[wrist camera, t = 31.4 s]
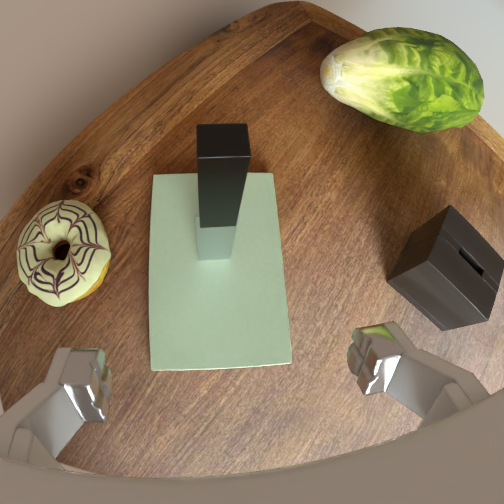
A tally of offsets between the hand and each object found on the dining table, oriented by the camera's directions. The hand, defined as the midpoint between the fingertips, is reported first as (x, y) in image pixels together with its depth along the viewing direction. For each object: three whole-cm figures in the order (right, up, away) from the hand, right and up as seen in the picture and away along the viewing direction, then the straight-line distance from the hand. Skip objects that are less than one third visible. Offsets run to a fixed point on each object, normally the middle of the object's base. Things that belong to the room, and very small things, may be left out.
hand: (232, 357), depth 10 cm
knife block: (+22, 0, +25) cm, 33 cm away
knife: (-3, +3, +21) cm, 22 cm away
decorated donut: (-19, +3, +21) cm, 28 cm away
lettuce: (+21, +24, +33) cm, 46 cm away
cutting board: (-3, +2, +22) cm, 22 cm away
